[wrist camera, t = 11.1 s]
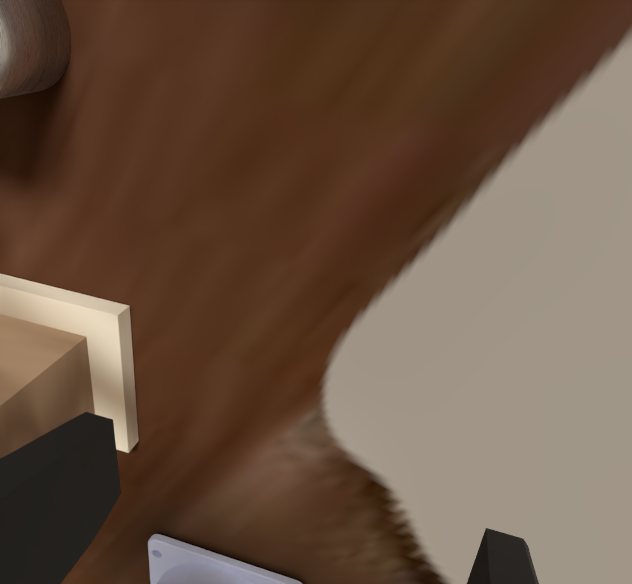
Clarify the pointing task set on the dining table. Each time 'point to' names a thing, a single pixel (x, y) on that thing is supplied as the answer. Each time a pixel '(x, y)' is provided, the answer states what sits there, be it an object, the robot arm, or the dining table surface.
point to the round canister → (32, 45)
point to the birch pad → (102, 341)
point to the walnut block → (40, 381)
